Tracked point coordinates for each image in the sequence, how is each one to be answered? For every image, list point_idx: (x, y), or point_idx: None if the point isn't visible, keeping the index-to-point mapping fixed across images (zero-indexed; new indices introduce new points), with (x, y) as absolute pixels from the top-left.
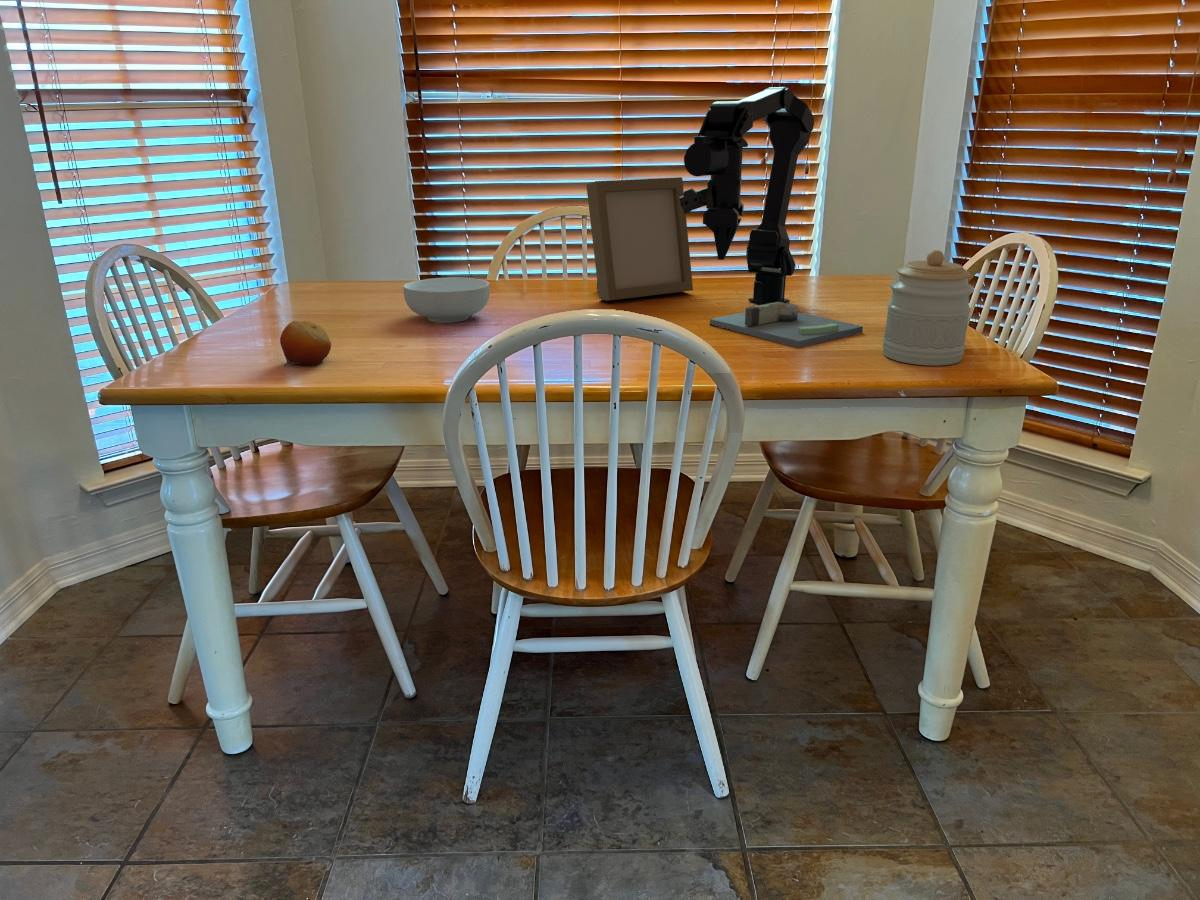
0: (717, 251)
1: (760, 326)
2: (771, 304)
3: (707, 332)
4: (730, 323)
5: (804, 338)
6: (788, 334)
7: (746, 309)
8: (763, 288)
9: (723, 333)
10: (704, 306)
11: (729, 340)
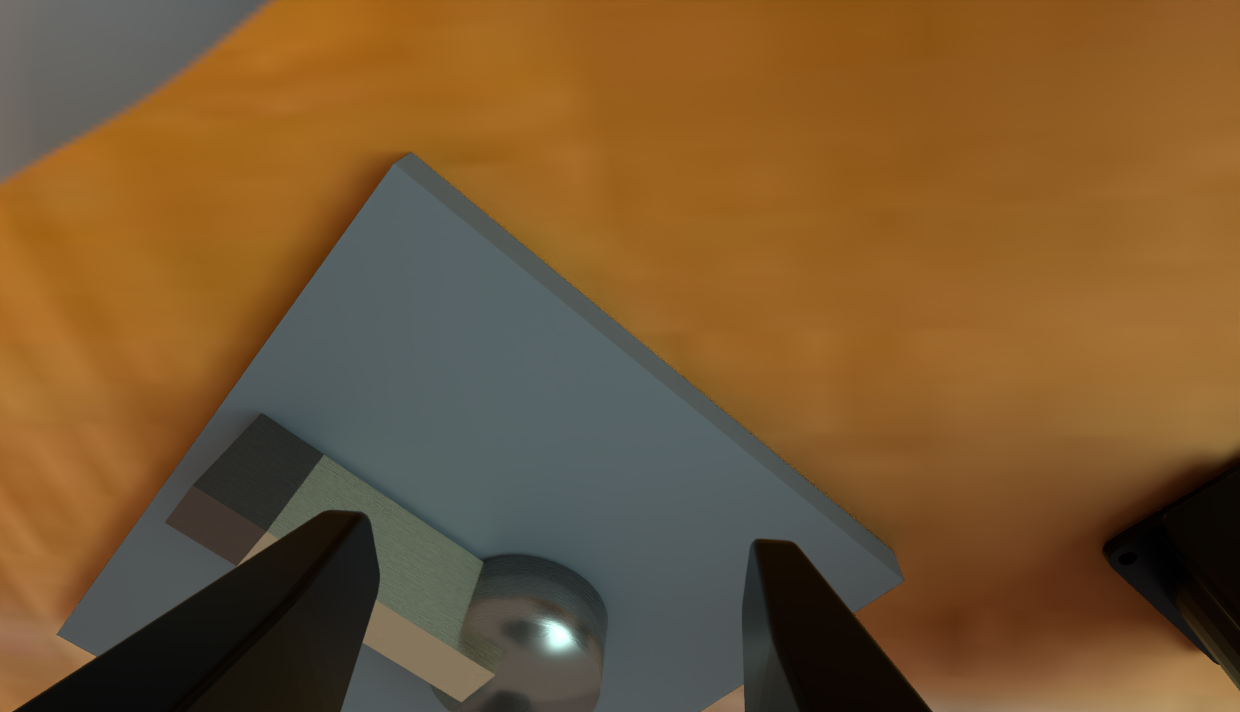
0: (183, 612)
1: None
2: (382, 633)
3: (178, 149)
4: (296, 321)
5: None
6: (167, 606)
7: (197, 482)
8: (1227, 597)
9: (202, 262)
10: (1175, 47)
11: (43, 304)
